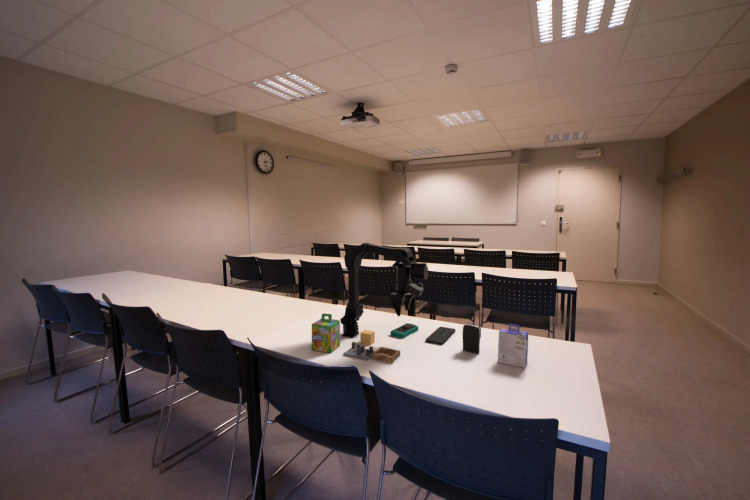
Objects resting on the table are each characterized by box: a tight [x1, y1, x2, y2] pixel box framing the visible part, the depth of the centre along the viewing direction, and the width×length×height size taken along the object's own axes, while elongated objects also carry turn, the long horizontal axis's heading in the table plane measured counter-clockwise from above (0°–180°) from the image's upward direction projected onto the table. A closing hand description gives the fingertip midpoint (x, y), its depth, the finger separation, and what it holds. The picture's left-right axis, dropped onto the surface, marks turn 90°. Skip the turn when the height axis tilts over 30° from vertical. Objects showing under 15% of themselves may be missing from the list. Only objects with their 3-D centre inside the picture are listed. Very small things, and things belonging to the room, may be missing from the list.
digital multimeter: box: [390, 322, 419, 339], centre depth 157 cm, size 7×15×3 cm, turn 142°
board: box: [342, 341, 376, 362], centre depth 132 cm, size 11×8×3 cm
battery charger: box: [462, 322, 482, 355], centre depth 134 cm, size 7×4×11 cm, turn 58°
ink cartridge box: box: [497, 323, 529, 369], centre depth 123 cm, size 10×6×14 cm, turn 58°
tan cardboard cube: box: [359, 329, 376, 346], centre depth 144 cm, size 5×4×5 cm
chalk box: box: [311, 313, 341, 354], centre depth 138 cm, size 9×9×15 cm
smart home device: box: [425, 326, 456, 346], centre depth 151 cm, size 8×2×20 cm
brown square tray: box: [371, 346, 401, 364], centre depth 129 cm, size 9×8×2 cm
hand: (403, 313), depth 140 cm, fingers open, 9 cm apart
